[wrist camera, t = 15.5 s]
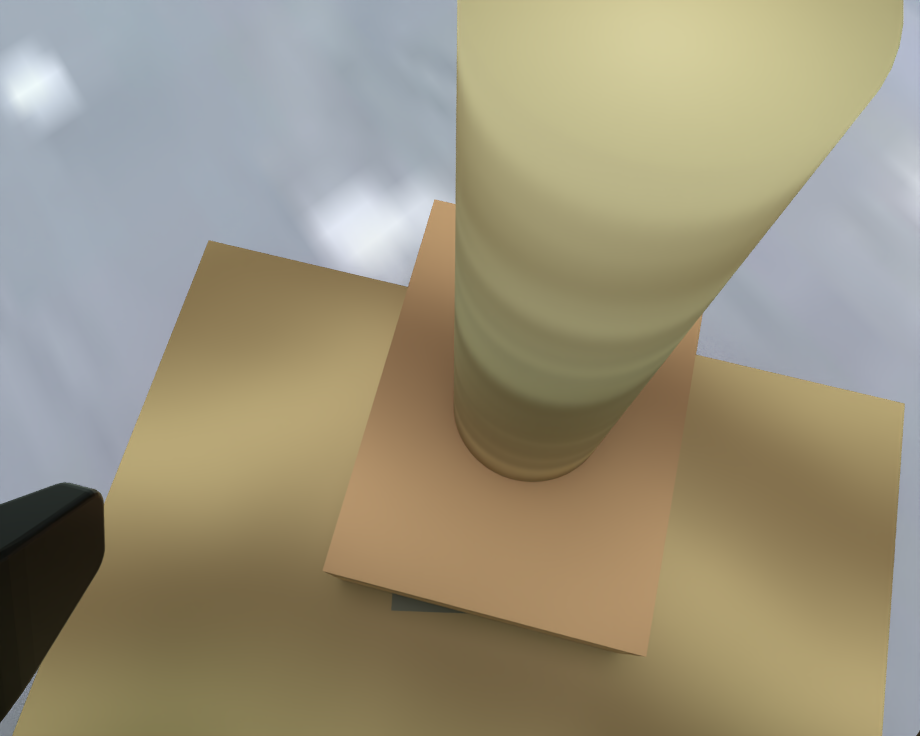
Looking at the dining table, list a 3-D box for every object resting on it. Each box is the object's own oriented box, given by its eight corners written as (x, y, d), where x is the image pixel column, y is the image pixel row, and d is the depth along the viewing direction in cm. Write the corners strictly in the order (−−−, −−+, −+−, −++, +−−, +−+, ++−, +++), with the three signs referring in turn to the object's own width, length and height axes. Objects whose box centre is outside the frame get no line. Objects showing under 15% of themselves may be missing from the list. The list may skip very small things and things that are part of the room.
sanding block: (617, 652, 16) (1160, 725, 4) (340, 579, 16) (13, 429, 4) (678, 309, 19) (1121, -322, 6) (436, 253, 19) (409, -442, 7)
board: (798, 1299, 14) (838, 1377, 13) (-67, 1026, 15) (-121, 1069, 14) (871, 420, 19) (904, 403, 18) (225, 267, 20) (208, 240, 19)
